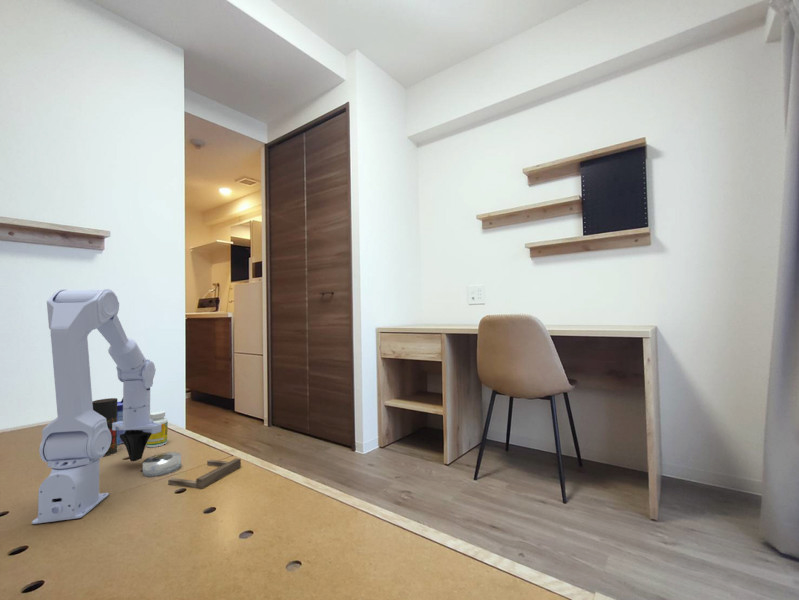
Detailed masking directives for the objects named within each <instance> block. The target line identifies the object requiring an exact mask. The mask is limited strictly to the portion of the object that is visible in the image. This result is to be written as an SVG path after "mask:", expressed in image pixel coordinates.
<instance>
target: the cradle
mask: <svg viewBox="0 0 799 600" xmlns="http://www.w3.org/2000/svg"><path fill="white" fill-rule="evenodd" d="M241 460H242V459H241V458H238V457H237V458H234V459H232V460H230V461H226V460H216V459H209V460H207V462H206V465H207V466H210V465H213V466H212V467H217V468H214V469H213V470H211V471H208V472H207V473H204V474H203V475H201V476H199V477H197V478H196V479H195V480H191V479H190V480H189V479H184V478H183V479H182V478H177V477H176V478H175V477H171V478H170V479H168V483H167V484H168V485H170V484H171V486H177V485H178V487H184V486H185V488H186V487H187V488H191V489H199V490H202V489H204V488H206V487H208V486H209V485H212V484H213V483H215V482H217V481H218V480H221V479H222V478H224V477H225V476H227V475H229V474H231V473H233V472H235V471H236V470H238V469H240V468H241V467H242V466H241V464H242V461H241ZM219 466H220V467H219Z"/></svg>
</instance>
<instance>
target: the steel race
mask: <svg viewBox="0 0 799 600" xmlns="http://www.w3.org/2000/svg"><path fill="white" fill-rule="evenodd" d="M180 467H181V468H182V454H181V453H180V452H176V451H171V452H163V453H157V454H154V455H152V456H149V457H146V459H144V460H143V461H142V476H143V477H145V476H146V477H147V478H155V477H156V476H157V477H162V476H167V475H169V473H170V474H172V473H175V472H177V471H179V470H180V469H181V468H180ZM176 470H177V471H176Z"/></svg>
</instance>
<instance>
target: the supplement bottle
mask: <svg viewBox="0 0 799 600" xmlns="http://www.w3.org/2000/svg"><path fill="white" fill-rule="evenodd" d="M150 419H153V422H155V423H157V424H161V432H158V433H155V434H151V436H150V437H149V439H148V441H147V443H146V446H145V447H147V448H158V446H159V447H162V446H165V445H166V444H167V443H168V428H169V427H168V426H169V424H168V422H169V421H168V419H167V418H166V411H165V410H159V411H153V412H150ZM164 444H165V445H164Z"/></svg>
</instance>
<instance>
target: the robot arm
mask: <svg viewBox="0 0 799 600" xmlns="http://www.w3.org/2000/svg"><path fill="white" fill-rule="evenodd" d="M46 307H47V308H46V310H47V320H48V328H49V330H50V342H51V354H52V365H53V377H54V389H55V400H56V401H55V402H56V412H57V413H56V415H57V417H56V418H54V419H52V421H50V422H49V423H47V425H45V426H44V427H43V429H42V430H41V432H42V433H41V434H42V435H41V436H42V438H41V442H40V444H39V447H38V448H39V450H38V451H39V453H38V454H39V457H40V459H41V460H42V461H43V462H44V463H47V466H46V467H47V468H51V471H50V473H49V475H48V476H47V477H46V478H44V480H43V481H42V482H41V483H40V485H39V488H38V499H37V503H38V504H37V505H38V506H37V517H36V518H35V519H33V520H31V524H32V525H37V524H43V523H51V522H58V521H65V520H67V521H68V520H75V519H80V518H83V517H84V516H85V515H87V514H88V513H90V512H91V510H93V509H94V508H95V507H97V505H99V503H101V502H102V501H103V500H104V499H106V498H107V497H108V496H109V492H102V493H100V468H101V467H100V466H101V465H100V463H101V462H100V460H101V458H104V457H105V456H104V454H105V453H106V452H107V451H108V449H109V447H110V444H111V432H110V430H109V429H108V426H107V421H106V418H105V417H103V416H102V415H100V414H99V413H97V412H95V411H94V410H93V404H92V401H93V393H92V380H91V370H90V369H91V367H90V356H89V355H90V354H89V342H88V336H89V334H90V333H91V332H93V330H97V331H98V332H99V333H100V334H101V336H102V337H103V338H104V339H105V340H106V342H107V343H108V344H109V345H110V346H109V348H108V349H107V351H108V355H109V356H110V357H111V359H112V360H113V362H114V364H115V365H116V368H115V369H116V371H117V375H116V376H117V380H119V382H121V383H122V384H123V385H122V387H123V388H122V390H123V391H122V392H123V394H122V395H123V396H122V398H123V421H118V422H114V423H112V430H114V431H115V430H126V432H125V433H124V434H121V435H120V439H121V440H122V441H123V443H122V444H124V446H125V448H126V451H127V454H128V459H129V460H130V462H136V461H139V460H142V458H143V455H144V451H145V448H146V447H147V446H146V443H147V441H148V439H149V437H150V436H151V434H155V433H158V432H161V424H157V423H155V422H153V419H150V413H151V387H153V384H154V378H155V375H156V366H155V363H154V362H153V361H151V360H150V359H147V358H146V357H145V356H144V354H143V352H142V350H141V348H140V347H139V346H138V344H137V341H135V339H133V338H128V336H127V334H126V331H125V330H124V328H123V325H122V324H121V323H122V322H121V321H120V318H119V317H118V314H119V311H120V302H119V298H118V296H117V295H116V293H115V292H114V290H112V289H110V288H103V289H59V290H56V291H55V292H54V293H53V294H52V295H51V296H50V298H48V300H47V301H46ZM103 456H104V457H103Z"/></svg>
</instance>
